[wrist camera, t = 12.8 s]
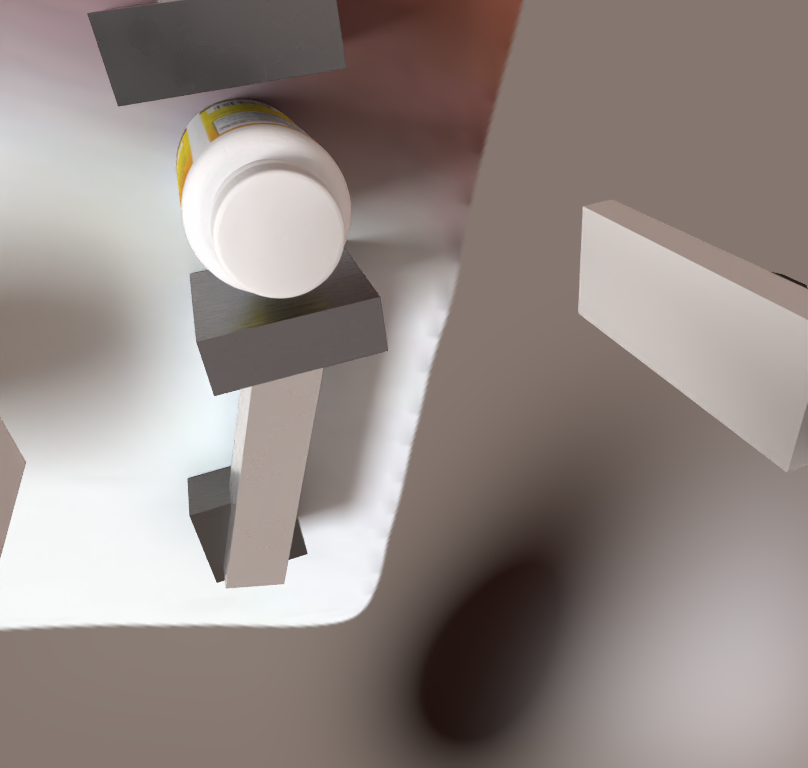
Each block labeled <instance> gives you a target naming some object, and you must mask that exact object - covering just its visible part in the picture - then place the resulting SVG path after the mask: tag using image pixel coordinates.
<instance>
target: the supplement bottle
mask: <svg viewBox="0 0 808 768" xmlns="http://www.w3.org/2000/svg"><path fill="white" fill-rule="evenodd" d="M176 171H177V180H178V188H179V195H180V203H181V212H182V220H183V225H184V229H185V232H186V236H187V238H188V241H189V243H190V245H191V247H192V249H193V251H194V253H195V254H196V256H197V257H198V258H199V260H200V261H201V262H202V264H203V265H204V266H205V267H206V268H207V269H208V270H209V271H210V272H211V273H213V274H214V275H215V276H216V277H217V278H219V279H220V280H222V281H223V282H225V283H227V284H229V285H231V286H233V287H235V288H237V289H240V290H244V291H247V292H251V293H255V294H257V295H260V296H264V297H269V298H290V297H295V296H299V295H302V294H305V293H307V292H309V291H311V290H313V289H314V288H316V287H317V286H319V285H320V284H322V283H323V282H324V281H325V280H326V279H327V278H328V277H329V276H330V275H331V273H332V272H333V271H334V269H335V268H336V266H337V264H338V262H339V261H340V258H341V255H342V252H343V249H344V245H345V243H346V240H347V237H348V234H349V230H350V224H351V200H350V194H349V190H348V187H347V184H346V181H345V179H344V177H343V174H342V172H341V170H340V169H339V167H338V165H337V164H336V163H335V161H334V160H333V158H332V157H331V156H330V155H329V153H328V152H327V151H326V150H325V149H324V148H323V147H322V146H321V145H319V144H318V143H317V142H316V141H315V140H314V139H312V138H311V137H310V136H309V135H308V134H307V133H306V132H304V131H303V130H302V129H301V128H300V127H299V126H297V125H296V124H295V123H294V122H293V121H292V120H291V119H289V118H288V117H287V116H286V115H285V114H284V113H282V112H281V111H279V110H278V109H276V108H274V107H272V106H271V105H269V104H266V103H263V102H260V101H257V100H253V99H246V98H233V99H227V100H223V101H220V102H216V103H214V104H212V105H210V106H208V107H206V108H205V109H203V110H202V111H201V112H199V113H198V114H197V115H196V116H195V117H194V118H193V119H192V120H191V121H190V123H189V124H188V125H187V127H186V129H185V130H184V132H183V134H182V137H181V139H180V142H179V146H178V150H177V160H176Z"/></svg>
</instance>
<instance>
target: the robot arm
mask: <svg viewBox="0 0 808 768" xmlns="http://www.w3.org/2000/svg"><path fill="white" fill-rule="evenodd" d="M581 240H582V241H581V262H580V263H581V264H580V286H579V309H578V313H579V314H580V315H582V316H583V317H584V318H585V319H587V320H588V321H589V322H591V323H592V324H593V325H595V326H596V327H597V328H599V329H600V330H601V331H603V332H604V333H605V334H606V335H608V336H609V337H610V338H612V339H613V340H614V341H616V342H617V343H618V344H620V345H621V346H622V347H623V348H625V349H626V350H627V351H629V352H630V353H631V354H633V355H634V356H635V357H637V358H638V359H639V360H640V361H642V362H643V363H644V364H646V365H647V366H648V367H650V368H651V369H652V370H654V371H655V372H656V373H657V374H659V375H660V376H662V377H663V378H664V379H665V380H667V381H668V382H670V383H671V384H672V385H673V386H675V387H676V388H677V389H679V390H680V391H681V392H682V393H684V394H685V395H686V396H688V397H689V398H690V399H692V400H693V401H694V402H696V403H697V404H698V405H699V406H701V407H702V408H703V409H705V410H706V411H707V412H709V413H710V414H711V415H713V416H714V417H715V418H716V419H718V420H719V421H720V422H722V423H723V424H724V425H726V426H727V427H728V428H730V429H731V430H732V431H734V432H735V433H736V434H737V435H739V436H740V437H741V438H743V439H744V440H745V441H747V442H748V443H749V444H751V445H752V446H753V447H755V448H756V449H757V450H759V451H760V452H761V453H763V454H764V455H765V456H766V457H768V458H769V459H770V460H772V461H773V462H774V463H775V464H777V465H778V466H779V467H781V468H782V469H783V470H785V471H786V472H790V471H793V470H796V469H799V468H801V467H804V466H807V465H808V288H807V286H806V285H805V284H803V283H801V282H798V281H796V280H793V279H791V278H789V277H787V276H785V275H783V274H778V273H774V272H770V271H767V270H764V269H763V268H761V267H758V266H756V265H754V264H752V263H750V262H747V261H745V260H743V259H741V258H739V257H736V256H734V255H732V254H730V253H728V252H726V251H724V250H721V249H719V248H717V247H715V246H712V245H710V244H708V243H706V242H704V241H702V240H699V239H697V238H695V237H693V236H691V235H689V234H686V233H684V232H682V231H680V230H678V229H676V228H673V227H671V226H669V225H667V224H665V223H662V222H660V221H658V220H656V219H654V218H652V217H649V216H647V215H645V214H643V213H641V212H639V211H636V210H634V209H632V208H630V207H627V206H625V205H623V204H621V203H619V202H617V201H615V200H608V201H604V202H599V203H595V204H591V205H586V206H583V216H582V239H581ZM25 464H26V461H25V460H24V458H23V456H22V454H21V453H20V451H19V449H18V447H17V446H16V444H15V442H14V440H13V439H12V437H11V435H10V433H9V432H8V430H7V428H6V426H5V425H4V423H3V421H2V419H1V417H0V557H1V553H2V550H3V546H4V542H5V539H6V535H7V531H8V527H9V524H10V520H11V516H12V513H13V509H14V505H15V501H16V498H17V494H18V490H19V487H20V483H21V479H22V475H23V472H24V468H25Z"/></svg>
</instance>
